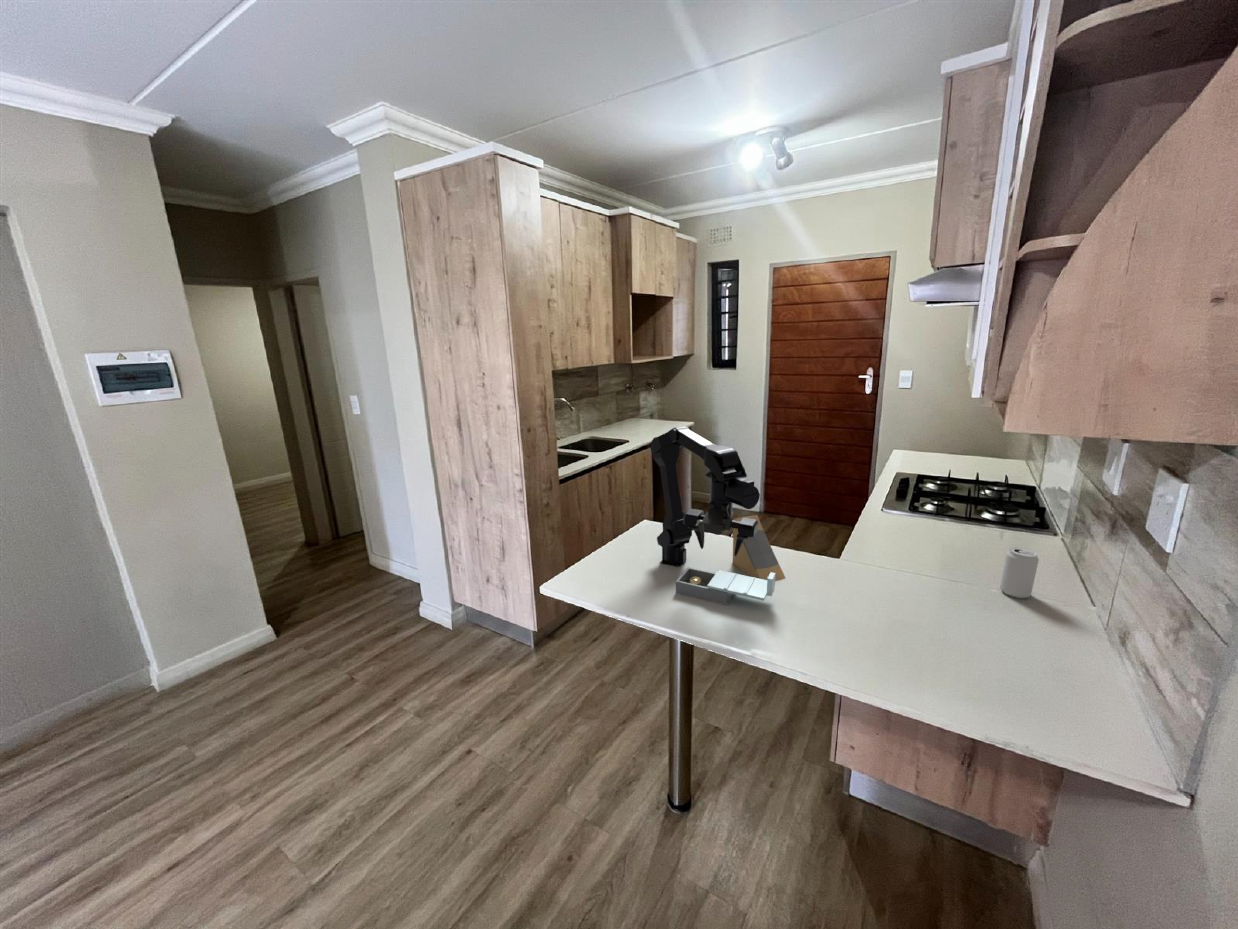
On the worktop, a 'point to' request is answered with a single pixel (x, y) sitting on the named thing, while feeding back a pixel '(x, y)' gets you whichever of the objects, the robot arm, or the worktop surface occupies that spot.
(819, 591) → the worktop surface
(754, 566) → the sandwich container
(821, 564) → the worktop surface
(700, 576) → the tub
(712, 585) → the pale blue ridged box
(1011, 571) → the beverage can
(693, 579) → the brass slug
